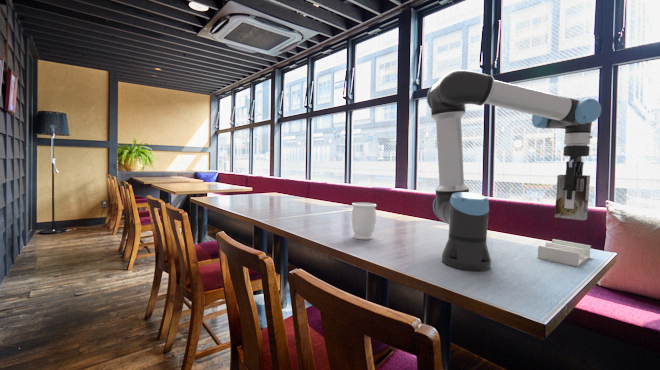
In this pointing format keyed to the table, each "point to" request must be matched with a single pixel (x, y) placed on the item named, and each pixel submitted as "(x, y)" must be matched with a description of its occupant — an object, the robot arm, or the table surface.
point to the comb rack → (564, 252)
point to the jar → (363, 220)
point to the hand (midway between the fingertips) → (571, 207)
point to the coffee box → (579, 201)
